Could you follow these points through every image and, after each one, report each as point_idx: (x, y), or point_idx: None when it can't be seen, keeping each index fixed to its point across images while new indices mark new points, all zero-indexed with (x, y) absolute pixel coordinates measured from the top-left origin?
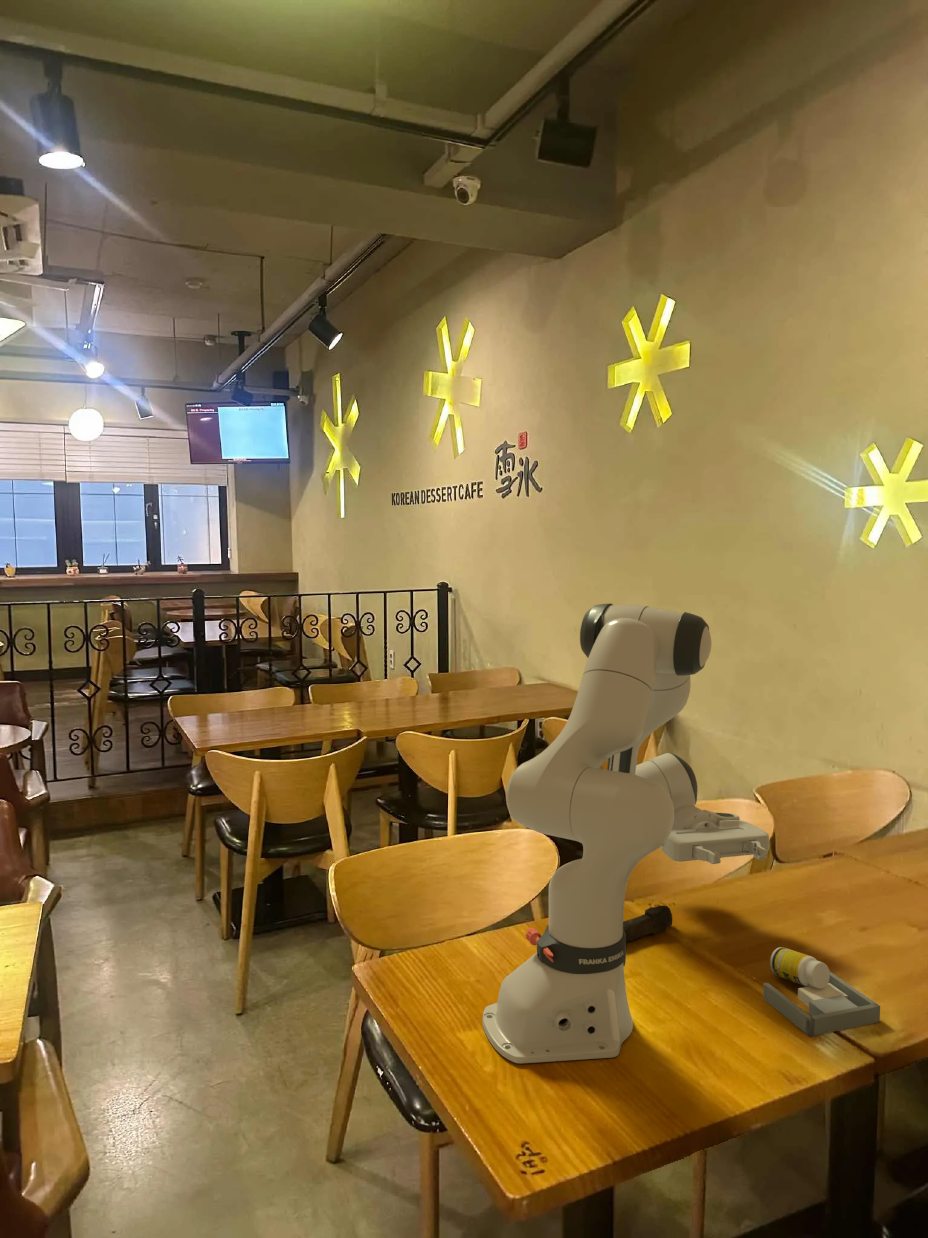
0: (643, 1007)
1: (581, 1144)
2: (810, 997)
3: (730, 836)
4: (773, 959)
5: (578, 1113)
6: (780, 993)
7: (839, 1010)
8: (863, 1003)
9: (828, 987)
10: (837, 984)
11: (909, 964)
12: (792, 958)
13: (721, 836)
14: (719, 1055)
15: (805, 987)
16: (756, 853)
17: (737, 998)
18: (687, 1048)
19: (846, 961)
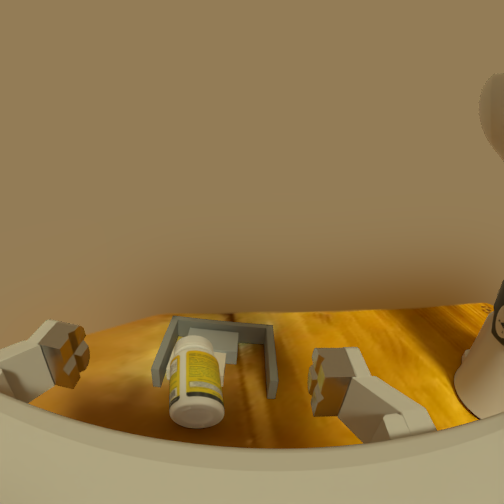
0: (442, 410)
1: (469, 312)
2: (224, 359)
3: (58, 441)
4: (222, 403)
5: (476, 325)
6: (270, 361)
7: (217, 332)
8: (175, 331)
9: None
10: (165, 358)
11: None
12: (210, 367)
13: (132, 479)
14: (376, 345)
15: None
16: (72, 357)
17: None
18: (404, 356)
19: (59, 405)
